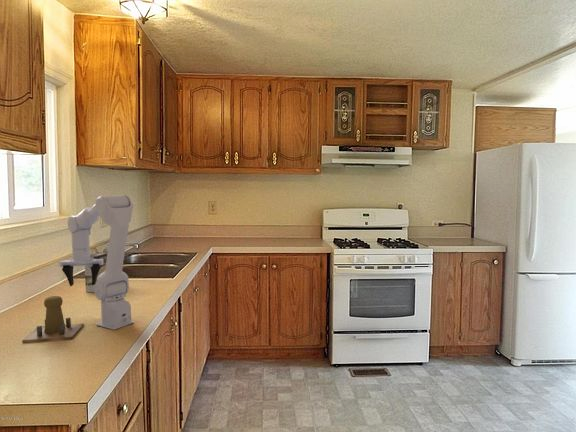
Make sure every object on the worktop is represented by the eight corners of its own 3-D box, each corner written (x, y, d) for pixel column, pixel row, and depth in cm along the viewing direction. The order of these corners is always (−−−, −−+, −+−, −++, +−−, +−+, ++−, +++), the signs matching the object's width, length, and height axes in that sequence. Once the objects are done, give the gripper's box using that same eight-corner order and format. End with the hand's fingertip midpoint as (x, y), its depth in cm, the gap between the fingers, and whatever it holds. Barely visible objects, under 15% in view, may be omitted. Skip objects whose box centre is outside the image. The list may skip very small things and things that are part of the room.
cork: (59, 325, 138) (57, 293, 137) (69, 329, 134) (67, 296, 133) (40, 331, 133) (38, 297, 132) (50, 335, 129) (48, 300, 128)
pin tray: (83, 325, 140) (83, 314, 139) (72, 339, 128) (71, 327, 128) (38, 328, 137) (37, 317, 137) (22, 342, 125) (21, 330, 125)
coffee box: (97, 293, 179) (95, 256, 178) (85, 292, 181) (83, 255, 180) (111, 287, 188) (110, 252, 187) (100, 286, 190) (98, 252, 188)
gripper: (104, 245, 157) (106, 281, 158) (63, 247, 154) (65, 283, 155) (100, 249, 150) (101, 285, 151) (56, 250, 147) (58, 288, 148)
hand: (82, 284), depth 153 cm, fingers open, 7 cm apart
